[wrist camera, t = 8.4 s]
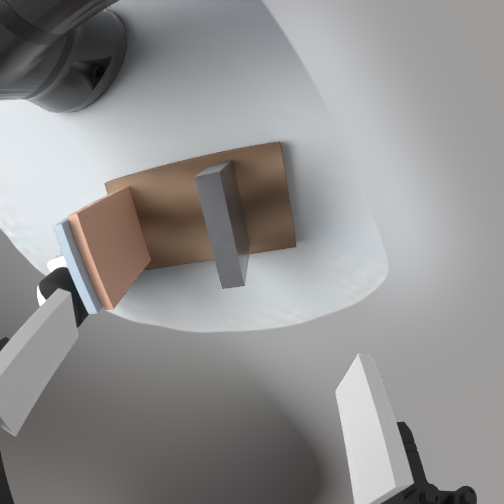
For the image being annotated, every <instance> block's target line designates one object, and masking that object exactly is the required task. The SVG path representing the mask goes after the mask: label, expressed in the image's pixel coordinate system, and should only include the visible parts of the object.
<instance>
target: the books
mask: <svg viewBox="0 0 504 504" xmlns="http://www.w3.org/2000/svg"><path fill="white" fill-rule="evenodd" d="M53 229H54V232H55V235H56V238H57V241H58V243H59V246H60V249H61V251H62V254H63V257H64V259H65V262H66V264H67V267H68V269H69V272H70V274H71V276H72V279H73V281H74V283H75V286H76V288H77V290H78V293H79V295H80V297H81V299H82V301H83V303H84V305H85V308H86V310H87V312H88V314H93V313H98V312H99V311H100V310H101V308H102V307H103V309H104V310H110V309H114V308H115V307H116V305H117V304H118V303H119V301H120V300H121V299H122V297H123V296H124V295H125V293H126V292H127V291H128V289H129V288H130V287H131V285H132V284H133V283H134V281H135V280H136V279H137V277H138V276H139V275H140V274H141V272H142V271H143V270H144V269H145V267H146V266H147V265H148V263H149V262H150V261H151V258H150V255H149V252H148V249H147V246H146V243H145V240H144V236H143V233H142V230H141V227H140V223H139V220H138V217H137V213H136V210H135V206H134V203H133V199H132V195H131V192H130V188H129V186H128V187H124V188H121V189H119V190H117V191H115V192H113V193H111V194H109V195H107V196H105V197H103V198H101V199H99V200H97V201H95V202H93V203H91V204H89V205H87V206H86V207H84V208H82V209H80V210H78V211H76V212H75V213H73V214H71V215H69V216H68V218H66V219H64V220H63V221H61V222H59V223H57V224H56V225H54V226H53Z"/></svg>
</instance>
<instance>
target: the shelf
mask: <svg viewBox="0 0 504 504" xmlns="http://www.w3.org/2000/svg"><path fill="white" fill-rule="evenodd" d="M229 160H233V165H234V170H235V175H236V180H237V185H238V190H239V194H240V199H241V204H242V209H243V214H244V219H245V224H246V229H247V234H248V238H249V243H250V250H249V254H253V253H260V252H266V251H273V250H279V249H286V248H292V247H296V241H295V234H294V227H293V221H292V214H291V207H290V201H289V194H288V188H287V182H286V176H285V170H284V164H283V158H282V153H281V147H280V142H273V143H266V144H261V145H255V146H249V147H244V148H238V149H233V150H228V151H223V152H219V153H214V154H209V155H205V156H200V157H196V158H192V159H187V160H183V161H179V162H175V163H171V164H167V165H163V166H160V167H156V168H152V169H149V170H145V171H142V172H138V173H135V174H131V175H128V176H125V177H121V178H118V179H115V180H112V181H109V182H106V183H105V187H106V191H107V194H108V195H109V194H111V193H113V192H115V191H117V190H119V189H121V188H124V187H128V186H129V188H130V192H131V195H132V199H133V203H134V206H135V210H136V213H137V217H138V220H139V223H140V227H141V230H142V233H143V236H144V240H145V243H146V246H147V249H148V252H149V255H150V258H151V261H150V262H149V263H148V265H147V266H146V267H145V269H144V270H148V269H155V268H161V267H168V266H174V265H181V264H187V263H194V262H201V261H207V260H214V255H213V251H212V247H211V243H210V239H209V235H208V231H207V227H206V223H205V219H204V215H203V211H202V207H201V203H200V198H199V194H198V190H197V186H196V181H195V176H196V175H198V174H199V173H201V172H202V171H204V170H205V169H207V168H208V167H210V166H211V165H213V164H214V163H219V162H224V161H229Z"/></svg>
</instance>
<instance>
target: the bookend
mask: <svg viewBox="0 0 504 504" xmlns="http://www.w3.org/2000/svg"><path fill="white" fill-rule="evenodd" d="M195 181H196V186H197V190H198V194H199V198H200V203H201V207H202V211H203V215H204V219H205V223H206V227H207V231H208V235H209V239H210V243H211V247H212V251H213V255H214V259H215V262H216V266H217V270H218V274H219V278H220V281H221V285H222V289H225V288H232V287H240V286H245V280H246V272H247V265H248V258H249V250H250V243H249V238H248V234H247V229H246V224H245V219H244V214H243V209H242V204H241V199H240V194H239V190H238V185H237V180H236V175H235V170H234V165H233V160H229V161H224V162H219V163H214V164H213V165H211V166H210V167H208V168H207V169H205V170H204V171H202V172H201V173H199V174H198V175H196V176H195Z"/></svg>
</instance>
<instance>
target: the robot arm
mask: <svg viewBox="0 0 504 504" xmlns="http://www.w3.org/2000/svg"><path fill="white" fill-rule="evenodd" d="M117 1H119V0H0V100H17V99H26V100H28V101H30V102H32V103H34V104H36V105H38V106H40V107H41V108H43V109H45V110H47V111H50V112H56V113H62V112H74V111H78V110H80V109H83V108H85V107H87V106H88V105H90V104H91V103H93V102H94V101H95V100H97V99H98V98H99V97H100V96H101V95H102V94H103V93H104V92H105V91H106V90H107V88H108V87H109V86H110V85H111V83H112V82H113V80H114V79H115V77H116V75H117V73H118V71H119V69H120V67H121V64H122V62H123V58H124V55H125V50H126V32H125V28H124V25H123V23H122V21H121V20H120V19H119V17H118V16H117V15H116V14H114V13H113V12H111V11H109V10H108V9H106V8H107V7H109V6H110V5H112V4H114V3H115V2H117ZM78 337H79V336H78V331H77V326H76V321H75V315H74V309H73V303H72V297H71V292H68V291H65V290H62V289H59V288H58V289H57V290H56V291H55V292H54V293H53V294H52V295H51V296H50V297H49V298H48V299H47V300H46V301H45V302H44V303H43V304H42V305H41V306H40V308H38V310H37V311H36V312H35V313H34V314H33V315H32V316H31V317H30V318H29V319H28V320H27V321H26V322H25V324H24V325H23V326H22V327H21V328H20V329H19V330H18V332H17V333H16V334H15V335H14V336H13V337H12V338H11V339H8V338H7V337H5V338H3V339H2V340H0V425H1V427H2V428H3V429H5V430H6V431H8V432H9V433H11V434H12V435H14V436H16V435H17V433H18V432H19V430H20V428H21V426H22V425H23V423H24V421H25V419H26V418H27V416H28V414H29V412H30V411H31V409H32V407H33V406H34V404H35V402H36V401H37V399H38V397H39V396H40V394H41V392H42V391H43V389H44V388H45V386H46V384H47V383H48V382H49V380H50V378H51V377H52V375H53V374H54V372H55V371H56V369H57V368H58V366H59V365H60V363H61V361H62V360H63V359H64V357H65V356H66V354H67V353H68V351H69V350H70V348H71V347H72V346H73V344H74V343H75V341H76V340H77V339H78ZM335 393H336V398H337V402H338V408H339V413H340V418H341V424H342V429H343V434H344V440H345V446H346V452H347V457H348V463H349V470H350V476H351V482H352V490H353V497H354V504H476V502H477V498H476V493H475V491H474V490H473V489H472V488H471V487H469V486H463V487H461V488H459V489H458V490H456V491H440V490H438V488H437V487H436V486H434V485H433V484H429V483H428V482H427V480H426V477H425V473H424V470H423V466H422V463H421V460H420V457H419V453H418V451H417V447H416V444H415V443H414V438H413V435H412V432H411V430H410V429H409V427H408V426H407V425H406V423H405V422H396V420H395V417H394V414H393V411H392V408H391V405H390V402H389V399H388V396H387V393H386V390H385V387H384V384H383V382H382V379H381V376H380V373H379V371H378V368H377V366H376V363H375V360H374V357H373V355H369V354H359V353H358V355H357V357H356V358H355V360H354V362H353V363H352V365H351V367H350V368H349V370H348V372H347V373H346V375H345V377H344V378H343V380H342V381H341V383H340V385H339V386H338V388H337V389H336V391H335ZM0 504H14V502H13V498H12V495H11V492H10V489H9V485H8V482H7V478H6V474H5V470H4V466H3V462H2V457H1V453H0Z"/></svg>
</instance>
